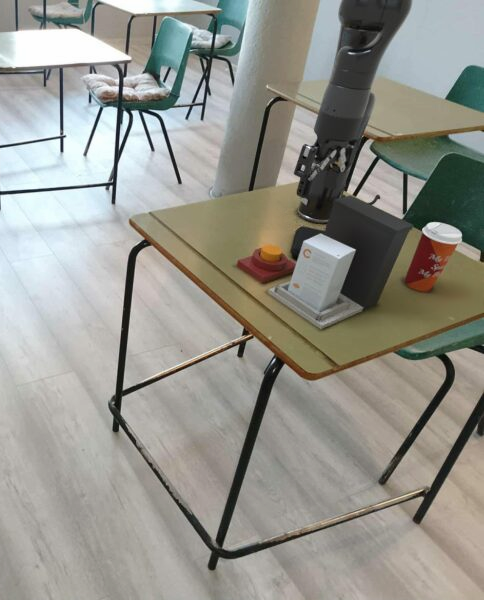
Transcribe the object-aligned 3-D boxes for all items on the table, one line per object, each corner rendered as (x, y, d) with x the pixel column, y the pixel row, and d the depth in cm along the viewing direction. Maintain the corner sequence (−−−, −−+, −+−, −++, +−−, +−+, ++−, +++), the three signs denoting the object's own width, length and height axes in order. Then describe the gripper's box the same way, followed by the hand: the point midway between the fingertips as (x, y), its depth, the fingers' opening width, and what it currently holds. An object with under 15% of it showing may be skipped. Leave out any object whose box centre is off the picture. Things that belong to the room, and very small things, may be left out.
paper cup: (419, 297, 123) (447, 240, 115) (391, 278, 129) (416, 223, 121) (444, 290, 126) (473, 235, 118) (416, 272, 132) (441, 218, 124)
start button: (269, 250, 129) (271, 242, 128) (284, 259, 126) (286, 251, 125) (255, 255, 127) (257, 247, 126) (270, 264, 124) (272, 256, 123)
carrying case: (335, 271, 130) (338, 243, 141) (339, 260, 128) (342, 232, 139) (287, 259, 133) (294, 233, 144) (291, 248, 131) (298, 222, 142)
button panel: (270, 255, 134) (273, 242, 132) (296, 271, 128) (300, 258, 126) (236, 266, 129) (239, 253, 127) (262, 284, 123) (266, 270, 121)
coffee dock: (322, 271, 129) (350, 195, 118) (377, 305, 120) (413, 224, 109) (267, 292, 121) (291, 211, 110) (321, 329, 111) (354, 245, 100)
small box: (335, 304, 117) (357, 249, 109) (318, 314, 114) (340, 258, 106) (302, 285, 122) (320, 232, 114) (284, 295, 118) (302, 240, 111)
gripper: (334, 121, 96) (307, 207, 106) (383, 110, 103) (354, 192, 113) (299, 108, 101) (276, 191, 111) (348, 99, 108) (323, 178, 118)
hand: (315, 192), depth 112 cm, fingers open, 8 cm apart
